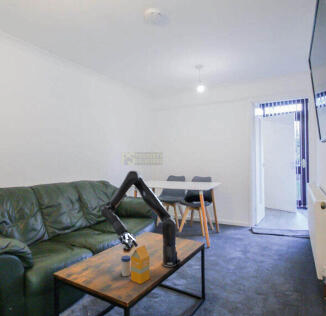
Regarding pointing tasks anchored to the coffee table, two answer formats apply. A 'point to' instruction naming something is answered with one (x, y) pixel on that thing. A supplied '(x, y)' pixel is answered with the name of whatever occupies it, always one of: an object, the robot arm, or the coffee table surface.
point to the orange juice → (140, 265)
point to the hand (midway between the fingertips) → (133, 247)
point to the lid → (125, 258)
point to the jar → (125, 268)
